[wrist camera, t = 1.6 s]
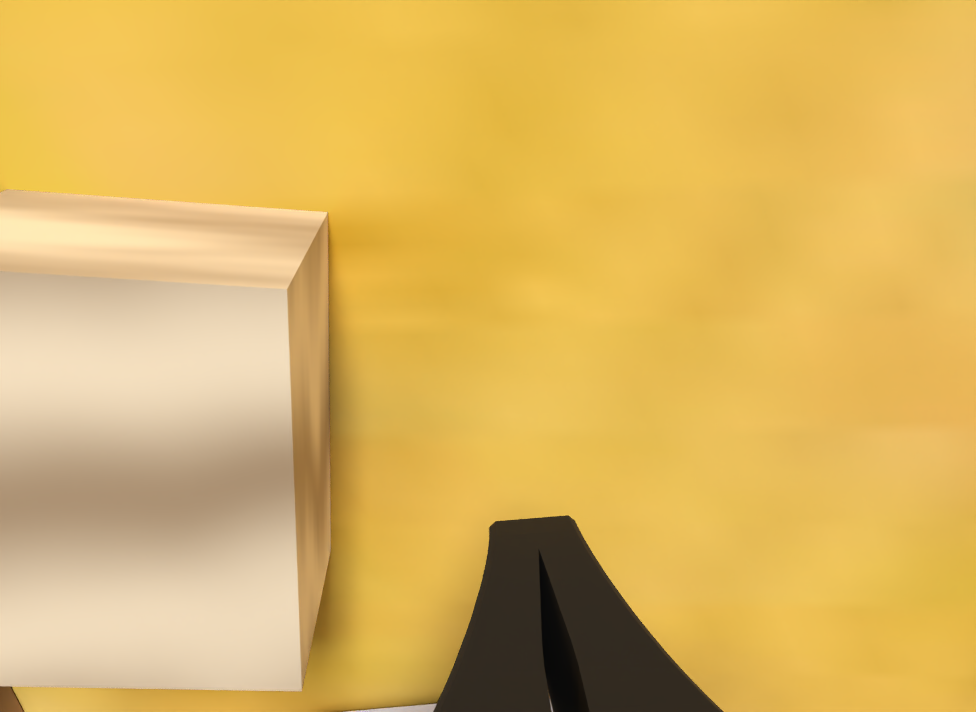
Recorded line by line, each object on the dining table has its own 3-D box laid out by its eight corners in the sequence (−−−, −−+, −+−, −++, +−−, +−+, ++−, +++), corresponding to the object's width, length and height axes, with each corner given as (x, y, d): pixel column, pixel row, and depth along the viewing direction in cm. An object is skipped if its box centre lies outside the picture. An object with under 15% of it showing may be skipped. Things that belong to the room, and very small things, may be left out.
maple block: (332, 544, 21) (301, 691, 17) (83, 536, 21) (-17, 685, 16) (329, 209, 17) (286, 289, 12) (12, 187, 16) (-151, 261, 12)
